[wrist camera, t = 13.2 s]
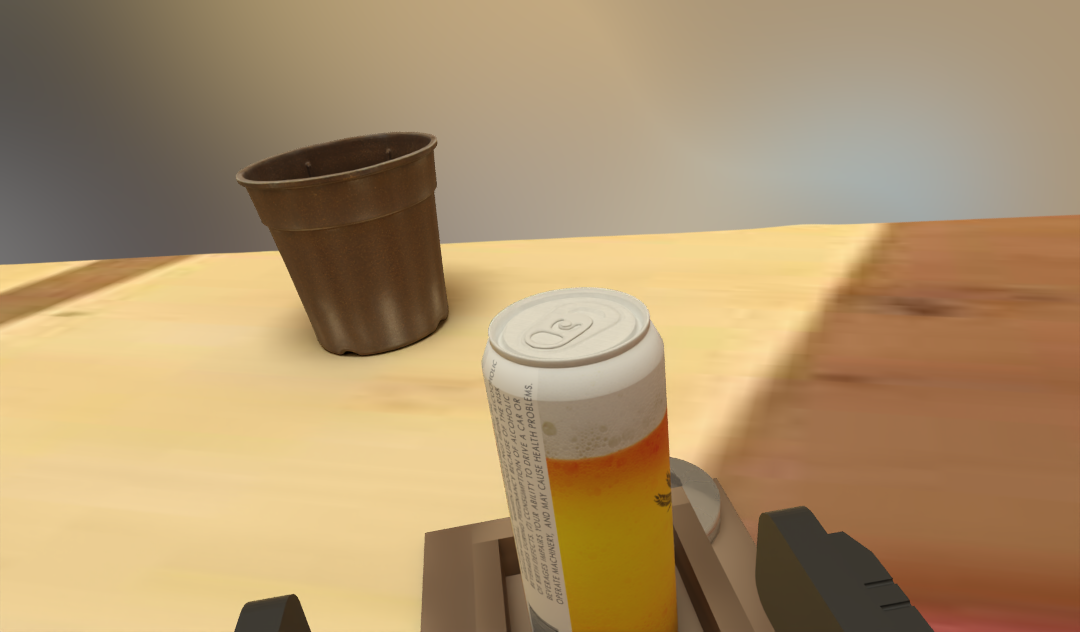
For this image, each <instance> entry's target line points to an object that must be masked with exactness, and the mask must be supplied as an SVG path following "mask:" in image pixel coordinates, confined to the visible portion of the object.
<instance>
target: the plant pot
mask: <svg viewBox="0 0 1080 632" xmlns="http://www.w3.org/2000/svg"><path fill="white" fill-rule="evenodd" d="M436 146H437V138H436V137H435V136H434V135H432V134H427V133H420V132H390V133H379V134H370V135H363V136H357V137H351V138H344V139H339V140H334V141H330V142H326V143H320V144H315V145H310V146H306V147H302V148H298V149H294V150H291V151H287V152H284V153H281V154H277V155H275V156H272V157H268V158H266V159H263V160H260V161H258V162H256V163H253V164H251V165H249V166H247V167H245V168H243V169H242V170H240V171H239V172H238V173H237V174H236V179H237V182H238V183H239V184H240V185H242V186H244V187H246V189H247V191H248V193H249V195H250V197H251V199H252V201H253V203H254V206H255V207H256V210H257V212H258V214H259V217H260V219H261V221H262V223H263V224H264V225H266V226H268V228H269V230H270V232H271V234H272V236H273V239H274V241H275V243H276V245H277V247H278V250H279V252H280V254H281V256H282V258H283V260H284V262H285V265H286V267H287V269H288V271H289V274H290V276H291V278H292V281H293V283H294V285H295V287H296V290H297V292H298V294H299V297H300V299H301V301H302V303H303V306H304V308H305V310H306V312H307V315H308V317H309V319H310V322H311V324H312V326H313V329H314V331H315V334H316V336H317V339H318V341H319V343H320V344H321V345H322V346H323V347H324V348H325V349H326V350H328V351H329V352H332V353H336V354H340V355H341V354H344V353H345V352H346V351H352V352H355V353H357V354H359V355H370V354H375V353H381V352H385V351H391V350H395V349H398V348H401V347H404V346H407V345H409V344H412V343H414V342H416V341H418V340H420V339H422V338H424V337H426V336H427V335H429V334H431V333H432V332H434V331H435V330H436V329H437V326H438V324H439V322H440V320H445V319H446V318H447V315H448V302H447V296H446V289H445V281H444V273H443V265H442V256H441V248H440V240H439V231H438V222H437V214H436V204H435V195H434V190H435V189H436V187H437V182H436V172H435V162H434V149H435V147H436Z"/></svg>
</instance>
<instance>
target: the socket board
mask: <svg viewBox="0 0 1080 632" xmlns="http://www.w3.org/2000/svg"><path fill="white" fill-rule="evenodd" d="M713 481H714V482H715V484H716V486H717V488H718V490H719V494H720V529H719V532H718V535H717V537H716V539H715V541H714V542H713V543H712V545H711V543H710V541H709V539H708V537H707V535H706V533H705V531H704V529H703V527H702V525H701V523H700V521H699V519H698V517H697V515H696V513H695V511H694V509H693V507H692V505H691V503H690V501H689V499H688V497H687V495H686V493H685V491H684V489H683V487H682V486H681V487H675V488H671V497H672V517H673V537H674V544H675V576H676V596H677V616H678V632H775V630H774V628H773V627H772V625H771V623H770V621H769V619H768V617H767V615H766V613H765V611H764V609H763V607H762V604H761V602H760V599H759V595H758V591H757V587H756V581H755V567H756V552H757V546H756V545H755V543H754V541H753V540H752V538H751V536H750V534H749V533H748V531H747V529H746V528H745V526H744V524H743V522H742V521H741V519H740V517H739V516H738V514H737V512H736V510H735V509H734V507H733V505H732V504H731V502H730V500H729V498H728V497H727V495H726V493H725V492H724V490H723V488H722V486H721V485H720V483H719V481H718V480H717V478H714V479H713ZM421 632H532V629H531V624H530V619H529V613H528V608H527V603H526V597H525V592H524V587H523V582H522V576H521V571H520V566H519V561H518V555H517V550H516V545H515V539H514V534H513V529H512V524H511V518H510V517H507V518H502V519H497V520H491V521H486V522H481V523H475V524H470V525H465V526H459V527H454V528H449V529H443V530H438V531H433V532H428V533H425V546H424V568H423V591H422V613H421Z"/></svg>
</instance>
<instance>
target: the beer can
mask: <svg viewBox="0 0 1080 632" xmlns="http://www.w3.org/2000/svg"><path fill="white" fill-rule="evenodd" d="M488 336H489V339H488V342H487V345H486V348H485V351H484V354H483V358H482V371H483V376H484V381H485V387H486V392H487V397H488V402H489V408H490V413H491V418H492V424H493V429H494V434H495V439H496V445H497V450H498V455H499V460H500V466H501V471H502V476H503V481H504V487H505V492H506V497H507V503H508V508H509V513H510V518H511V524H512V529H513V534H514V539H515V545H516V550H517V555H518V561H519V566H520V571H521V576H522V582H523V587H524V592H525V597H526V603H527V608H528V613H529V619H530V624H531V629H532V632H678V616H677V596H676V576H675V557H674V537H673V517H672V497H671V477H670V458H669V438H668V418H667V398H666V379H665V359H664V343H663V340H662V338H661V336H660V334H659V333H658V331H657V329H656V328H655V326H654V324H653V323H652V321H651V320H650V315H649V311H648V309H647V307H646V306H645V305H644V303H642V302H641V301H640V300H639V299H637V298H635V297H633V296H631V295H629V294H626V293H623V292H620V291H616V290H611V289H604V288H590V287H581V288H566V289H559V290H553V291H548V292H543V293H540V294H536V295H533V296H530V297H527V298H524V299H522V300H519V301H517V302H515V303H513V304H511V305H510V306H508V307H506V308H505V309H503V310H502V311H501V312H500V313H498V314H497V315H496V316H495V317H494V319H493V320H492V321H491V323H490V325H489V329H488Z"/></svg>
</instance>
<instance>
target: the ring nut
mask: <svg viewBox="0 0 1080 632" xmlns="http://www.w3.org/2000/svg"><path fill="white" fill-rule="evenodd" d="M669 458H670V477H671V488H675V487H681V486H682V487H683V489H684V491H685V493H686V495H687V497H688V499H689V501H690V503H691V505H692V507H693V509H694V511H695V513H696V515H697V517H698V519H699V521H700V523H701V525H702V527H703V529H704V531H705V533H706V535H707V537H708V539H709V541H710V543H711V545H712V543H713V542H714V541H715V539H716V537H717V535H718V532H719V529H720V494H719V490H718V488H717V486H716V484H715V482H714V481H713V479H712V478H711V477H710V476H709V475H708V474H707V473H706V472H704V471H703V470H702V469H700V468H699V467H697V466H695V465H693V464H691V463H689V462H686V461H684V460H680V459H677V458H672V457H669ZM674 557H675V544H674Z"/></svg>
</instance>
